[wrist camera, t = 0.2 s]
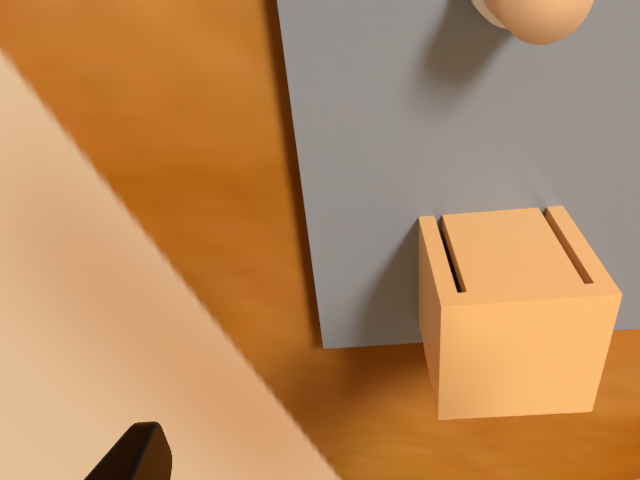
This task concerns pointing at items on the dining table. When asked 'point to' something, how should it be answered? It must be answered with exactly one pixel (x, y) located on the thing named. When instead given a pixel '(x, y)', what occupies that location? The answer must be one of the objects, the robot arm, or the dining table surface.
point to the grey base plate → (457, 138)
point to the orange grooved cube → (513, 314)
